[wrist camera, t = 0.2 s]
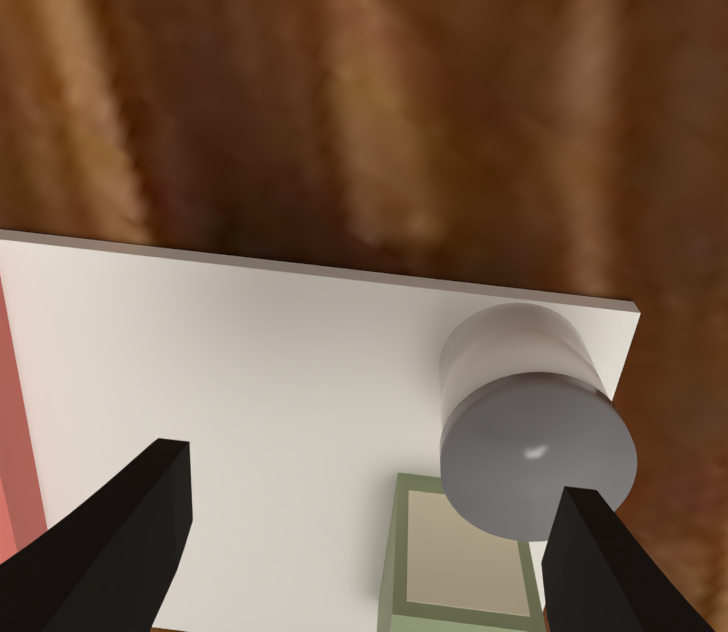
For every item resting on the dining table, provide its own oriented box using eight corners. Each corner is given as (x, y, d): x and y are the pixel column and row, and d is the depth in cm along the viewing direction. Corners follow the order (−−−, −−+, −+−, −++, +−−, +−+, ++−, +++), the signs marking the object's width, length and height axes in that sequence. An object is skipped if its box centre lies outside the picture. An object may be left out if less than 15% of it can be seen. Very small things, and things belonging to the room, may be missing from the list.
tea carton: (483, 614, 27) (499, 770, 22) (378, 601, 27) (369, 753, 22) (518, 486, 24) (546, 632, 18) (398, 471, 24) (392, 613, 19)
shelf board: (519, 657, 29) (528, 720, 27) (36, 595, 30) (1, 652, 27) (633, 301, 21) (662, 345, 18) (-42, 224, 21) (-102, 256, 19)
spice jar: (569, 436, 23) (607, 552, 18) (426, 419, 23) (428, 529, 18) (608, 309, 20) (662, 404, 16) (448, 291, 20) (456, 380, 16)
